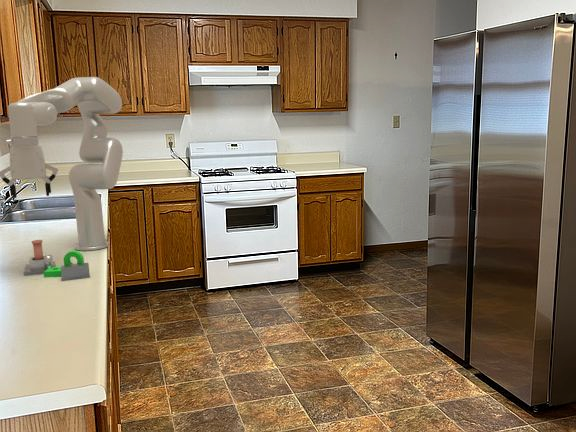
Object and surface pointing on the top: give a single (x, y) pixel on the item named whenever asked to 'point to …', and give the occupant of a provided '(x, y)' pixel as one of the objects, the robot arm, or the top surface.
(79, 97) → the robot arm
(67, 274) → the block
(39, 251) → the peach peg
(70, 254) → the mechanical part
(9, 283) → the top surface
